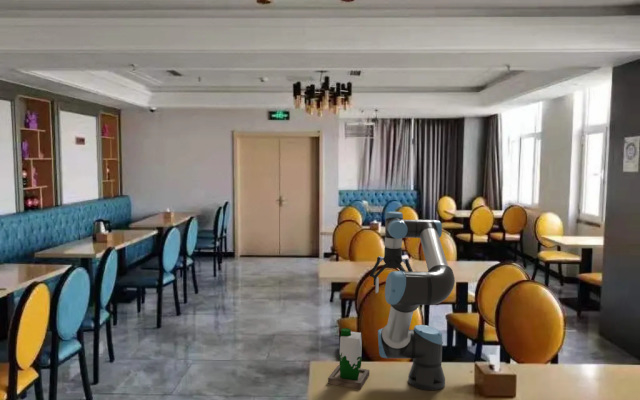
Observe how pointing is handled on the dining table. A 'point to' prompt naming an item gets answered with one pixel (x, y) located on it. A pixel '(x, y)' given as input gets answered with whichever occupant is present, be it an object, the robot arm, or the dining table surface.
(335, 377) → the walnut tray
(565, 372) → the dining table surface
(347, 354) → the soya milk
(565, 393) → the dining table surface
